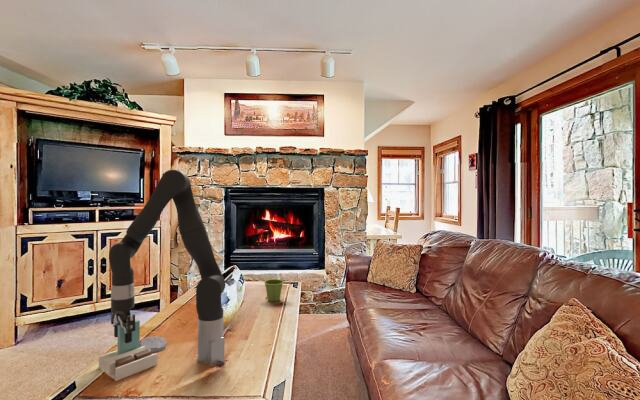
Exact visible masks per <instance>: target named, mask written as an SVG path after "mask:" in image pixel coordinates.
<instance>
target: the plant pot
mask: <svg viewBox="0 0 640 400" xmlns="http://www.w3.org/2000/svg"><path fill="white" fill-rule="evenodd" d="M284 283H285V282H284V280H283V279H282V280H281V279H276V278H274V279H272V278H271V279H267V280H264V283H263V284H264V286H265V290H266V291H265V292H266V297H267V301H268V302H275V303H276V302H278V301H280V300H281V295H282V294H281V293H282V289H283V285H284Z"/></svg>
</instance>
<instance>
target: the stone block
mask: <svg viewBox="0 0 640 400" xmlns="http://www.w3.org/2000/svg"><path fill="white" fill-rule="evenodd" d="M167 344H168V342H167V340H166V338H165V337H163V336H156V335H155V336H154V335H153V336H147V337H143V338H142V339H141V340H140V347H143V346H145V350H146V349H148V350H149V349H150V350H151V351H152V353H157V352H161V351H164V350H165V349H166V346H167Z"/></svg>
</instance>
